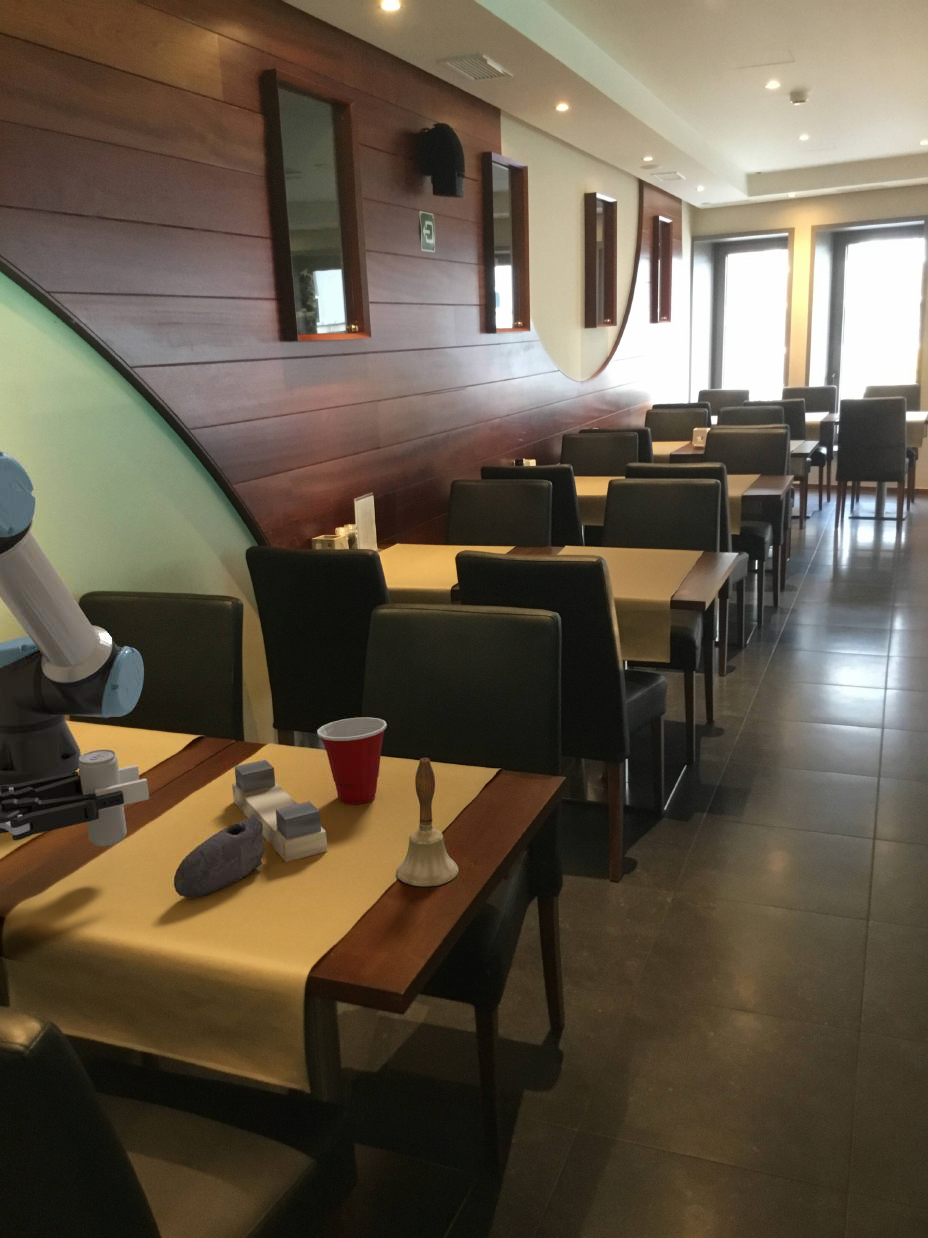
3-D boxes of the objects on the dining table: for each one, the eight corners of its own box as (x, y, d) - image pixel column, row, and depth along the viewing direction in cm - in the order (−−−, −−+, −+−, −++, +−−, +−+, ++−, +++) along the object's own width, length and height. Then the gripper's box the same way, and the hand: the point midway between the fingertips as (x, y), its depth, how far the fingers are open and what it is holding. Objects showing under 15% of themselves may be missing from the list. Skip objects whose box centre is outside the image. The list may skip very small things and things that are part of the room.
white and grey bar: (233, 801, 158) (230, 766, 156) (270, 793, 161) (267, 758, 159) (286, 862, 137) (283, 821, 136) (327, 851, 140) (324, 811, 139)
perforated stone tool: (189, 913, 125) (183, 862, 124) (163, 901, 128) (158, 851, 127) (279, 866, 137) (275, 819, 135) (254, 856, 140) (250, 809, 138)
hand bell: (435, 851, 139) (430, 743, 135) (471, 874, 133) (467, 760, 129) (384, 870, 134) (378, 758, 131) (419, 894, 128) (413, 777, 124)
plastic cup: (361, 778, 166) (357, 708, 163) (404, 795, 158) (401, 723, 155) (307, 798, 158) (302, 726, 155) (350, 817, 151) (345, 742, 148)
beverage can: (135, 835, 136) (124, 752, 133) (107, 850, 131) (96, 765, 128) (109, 828, 138) (98, 747, 135) (81, 843, 134) (69, 759, 131)
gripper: (-49, 825, 133) (131, 784, 144) (-39, 882, 118) (161, 832, 129) (-58, 773, 131) (125, 735, 142) (-49, 824, 116) (155, 778, 127)
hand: (142, 781), depth 135 cm, fingers closed on beverage can, 5 cm apart
